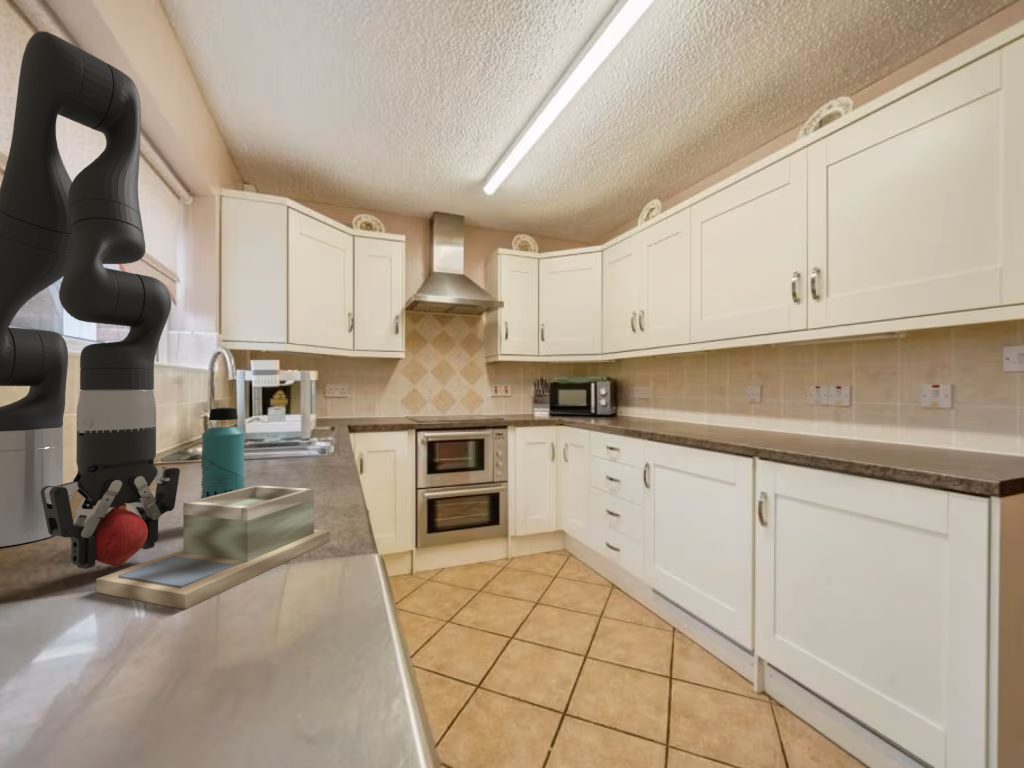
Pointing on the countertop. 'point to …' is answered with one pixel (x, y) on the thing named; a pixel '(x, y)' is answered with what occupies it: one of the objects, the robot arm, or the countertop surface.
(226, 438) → the beverage bottle
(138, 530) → the onion
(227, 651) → the countertop surface
